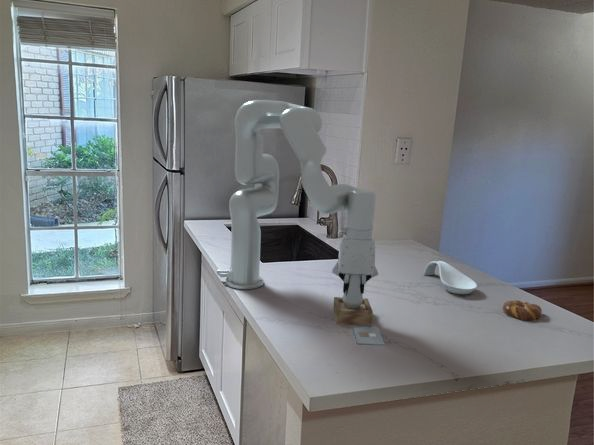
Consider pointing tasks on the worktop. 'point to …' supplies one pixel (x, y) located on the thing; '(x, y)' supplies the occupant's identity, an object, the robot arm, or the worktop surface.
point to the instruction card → (368, 335)
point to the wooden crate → (352, 313)
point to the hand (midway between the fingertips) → (353, 294)
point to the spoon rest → (451, 278)
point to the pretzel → (522, 310)
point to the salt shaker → (353, 293)
